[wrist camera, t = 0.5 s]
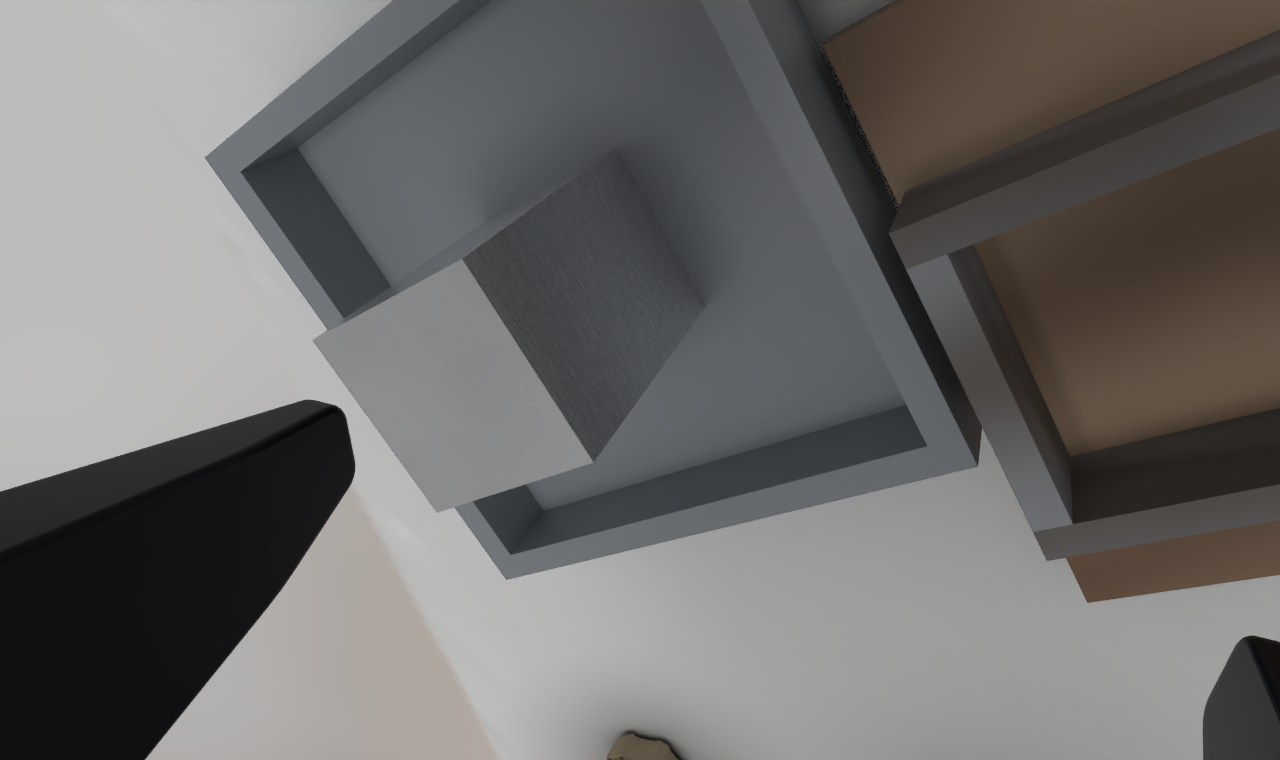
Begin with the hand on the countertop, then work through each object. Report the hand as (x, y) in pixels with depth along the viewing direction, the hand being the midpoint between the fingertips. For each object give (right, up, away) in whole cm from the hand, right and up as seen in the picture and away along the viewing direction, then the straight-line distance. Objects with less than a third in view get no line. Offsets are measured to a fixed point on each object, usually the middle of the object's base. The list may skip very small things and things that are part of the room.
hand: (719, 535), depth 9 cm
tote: (-2, +5, +15) cm, 16 cm away
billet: (-2, +5, +14) cm, 15 cm away
